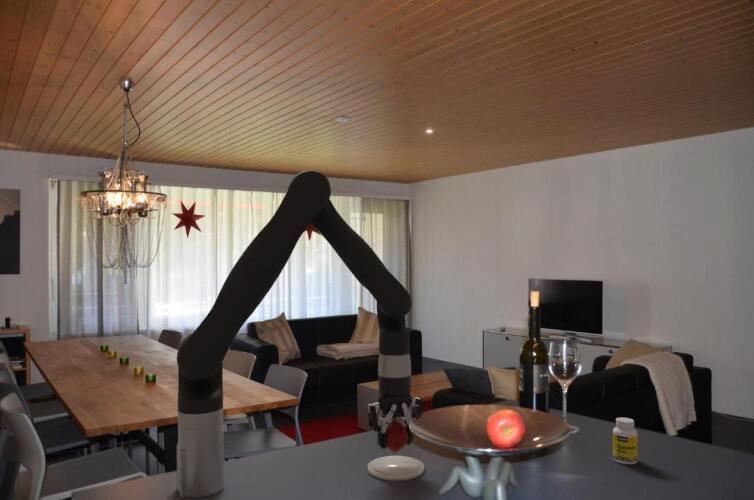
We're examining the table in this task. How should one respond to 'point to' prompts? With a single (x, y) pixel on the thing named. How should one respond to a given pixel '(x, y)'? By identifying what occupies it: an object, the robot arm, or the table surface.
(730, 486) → the table surface
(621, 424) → the supplement bottle
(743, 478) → the table surface
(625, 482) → the table surface
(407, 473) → the saucer
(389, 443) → the onion
